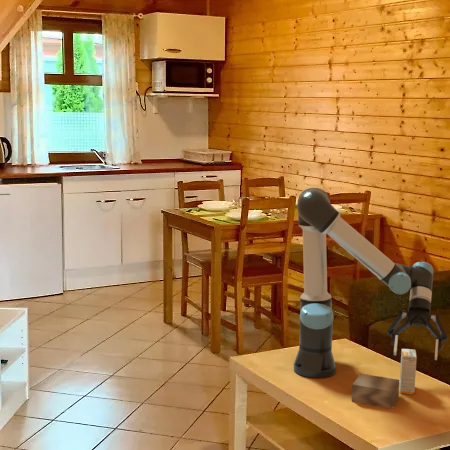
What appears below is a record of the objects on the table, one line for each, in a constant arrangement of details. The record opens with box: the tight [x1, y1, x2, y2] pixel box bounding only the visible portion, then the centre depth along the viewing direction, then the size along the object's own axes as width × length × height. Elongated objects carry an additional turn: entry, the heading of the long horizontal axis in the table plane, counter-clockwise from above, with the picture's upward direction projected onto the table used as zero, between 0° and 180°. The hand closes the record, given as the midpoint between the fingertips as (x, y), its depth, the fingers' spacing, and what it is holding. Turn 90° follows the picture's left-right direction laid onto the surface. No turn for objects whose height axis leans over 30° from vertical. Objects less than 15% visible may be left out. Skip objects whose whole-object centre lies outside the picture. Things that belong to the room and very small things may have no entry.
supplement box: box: [399, 348, 418, 395], centre depth 240 cm, size 8×5×13 cm, turn 168°
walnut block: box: [351, 373, 400, 409], centre depth 232 cm, size 13×11×6 cm
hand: (415, 356), depth 243 cm, fingers open, 13 cm apart
